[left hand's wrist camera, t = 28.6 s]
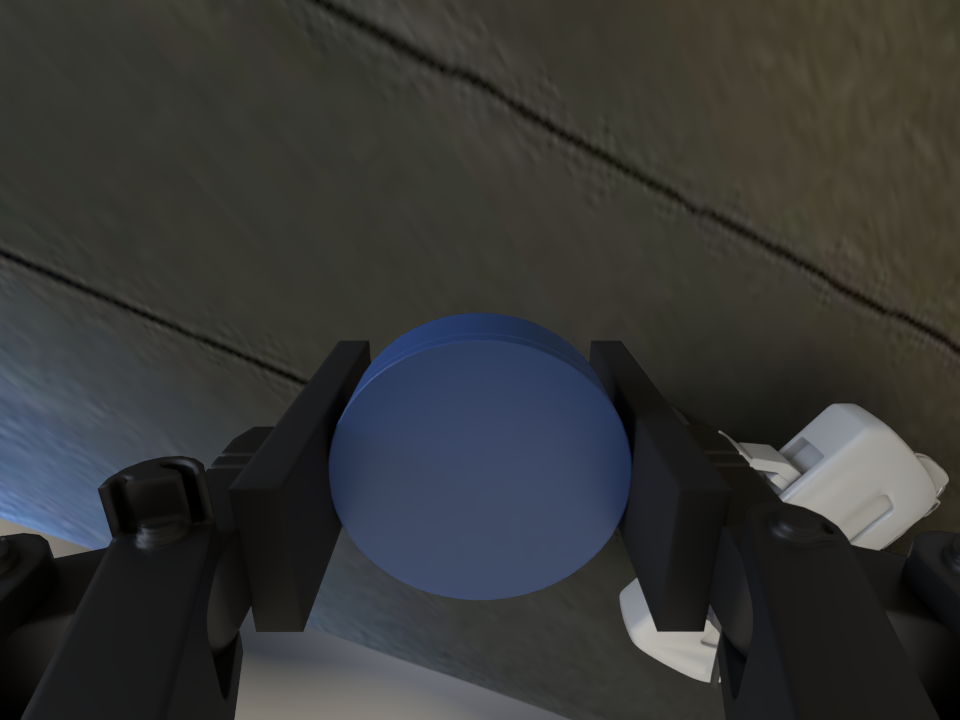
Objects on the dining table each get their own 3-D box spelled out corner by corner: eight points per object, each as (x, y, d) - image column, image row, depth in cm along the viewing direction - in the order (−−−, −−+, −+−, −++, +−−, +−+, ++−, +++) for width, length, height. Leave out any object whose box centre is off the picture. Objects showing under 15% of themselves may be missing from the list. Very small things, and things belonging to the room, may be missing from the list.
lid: (570, 272, 10) (587, 294, 9) (638, 504, 12) (662, 558, 11) (303, 363, 11) (272, 399, 9) (407, 569, 13) (397, 629, 11)
